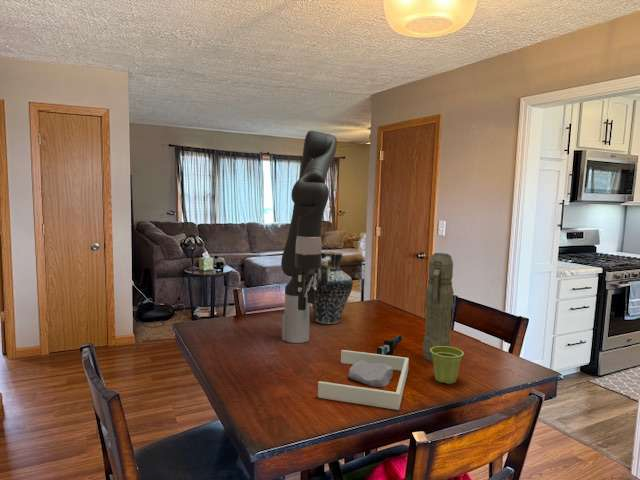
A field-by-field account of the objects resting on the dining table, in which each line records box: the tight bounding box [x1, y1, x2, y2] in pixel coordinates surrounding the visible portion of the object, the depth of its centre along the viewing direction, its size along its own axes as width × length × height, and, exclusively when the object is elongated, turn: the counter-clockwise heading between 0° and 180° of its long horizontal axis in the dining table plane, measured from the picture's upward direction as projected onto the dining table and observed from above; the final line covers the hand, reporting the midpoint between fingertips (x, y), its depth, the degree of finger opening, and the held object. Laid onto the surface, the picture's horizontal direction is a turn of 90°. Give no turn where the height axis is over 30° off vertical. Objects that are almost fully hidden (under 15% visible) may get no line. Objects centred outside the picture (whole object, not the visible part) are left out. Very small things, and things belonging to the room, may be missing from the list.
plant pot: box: [430, 346, 465, 385], centre depth 128 cm, size 9×9×9 cm
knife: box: [376, 334, 403, 355], centre depth 153 cm, size 31×3×4 cm, turn 152°
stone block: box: [348, 360, 394, 388], centre depth 128 cm, size 12×5×10 cm
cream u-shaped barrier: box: [317, 349, 410, 411], centre depth 125 cm, size 21×27×4 cm
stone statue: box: [422, 252, 454, 363], centre depth 145 cm, size 9×12×35 cm
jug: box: [311, 250, 354, 325], centre depth 186 cm, size 21×19×30 cm
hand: (306, 306), depth 129 cm, fingers open, 8 cm apart
